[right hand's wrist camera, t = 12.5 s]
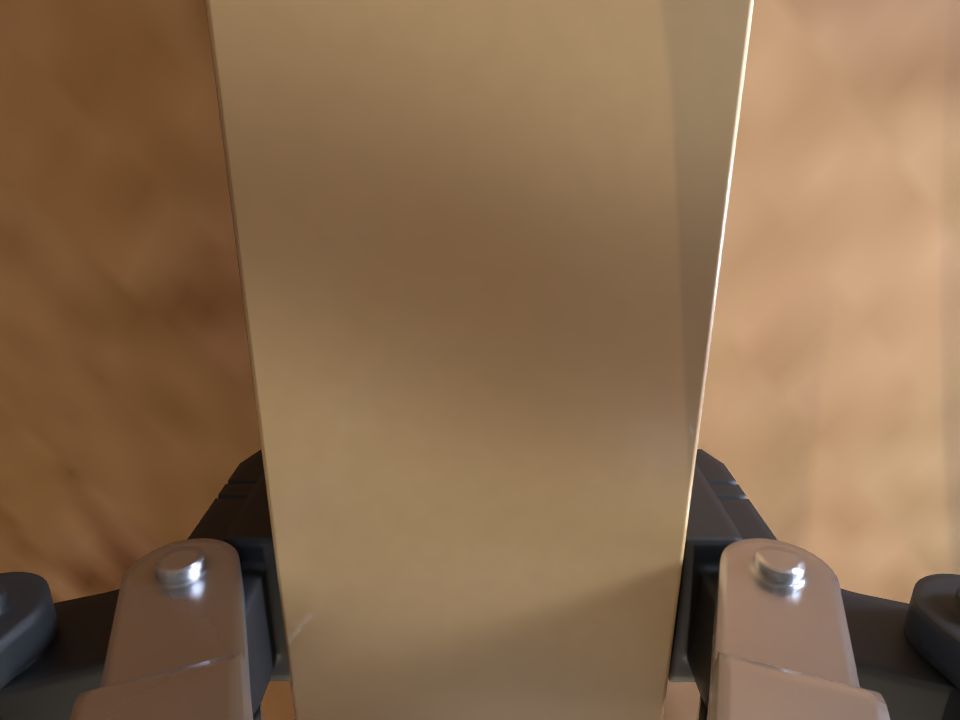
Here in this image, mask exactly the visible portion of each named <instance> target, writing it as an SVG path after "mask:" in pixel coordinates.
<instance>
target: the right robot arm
mask: <svg viewBox="0 0 960 720" xmlns="http://www.w3.org/2000/svg"><path fill="white" fill-rule="evenodd" d="M668 678H669V681H670V682H696V684H697V686H698V689H699V692H700V694H701V695H700V702H699V708H698V715H697V720H960V575H955V574H935V575H930V576H926V577H924V578H922V579H920V580H919V581H918V582H917V583H916V584H915V587H914V589H913V593H912V597H911V601H910V604H907V603H902V602H897V601H892V600H887V599H882V598H878V597H873V596H868V595H863V594H859V593H854V592H850V591H847V590H844V589H841V588H840V585H839V582H838V579H837V576H836V575H835V573H834V572H833V570H832V569H831V568H830V567H829V566H828V565H827V564H826V563H825V562H823V561H822V560H821V559H820V558H818V557H817V556H815V555H814V554H812V553H810V552H808V551H806V550H804V549H802V548H800V547H797V546H795V545H792V544H789V543H786V542H781V541H778V540H777V539H776V538H775V536H774V535H773V533H772V532H771V531H770V529H769V528H768V526H767V525H766V523H765V522H764V521H763V519H762V518H761V516H760V515H759V513H758V512H757V511H756V509H755V508H754V506H753V505H752V503H751V502H750V501H749V499H746V495H745V494H744V492H743V491H742V489H741V488H740V486H739V485H736V481H735V479H734V478H733V476H732V475H731V474H730V472H729V471H728V469H727V468H726V467H725V465H724V464H723V463H721V462H720V461H718V460H717V459H715V458H714V457H712V456H711V455H709V454H708V453H706V452H705V451H703V450H702V449H697V454H696V462H695V470H694V477H693V485H692V493H691V501H690V509H689V517H688V525H687V533H686V541H685V548H684V556H683V564H682V572H681V580H680V588H679V596H678V604H677V611H676V619H675V627H674V635H673V643H672V651H671V659H670V667H669V674H668ZM269 681H290V674H289V666H288V658H287V650H286V642H285V634H284V626H283V618H282V610H281V602H280V594H279V586H278V578H277V570H276V562H275V554H274V546H273V538H272V530H271V522H270V514H269V506H268V498H267V490H266V482H265V474H264V466H263V458H262V450H260V451H258V452H257V453H255V454H254V455H252V456H251V457H249V458H248V459H246V460H245V461H243V462H242V463H240V464H239V466H238V467H237V469H236V470H235V472H234V473H233V475H232V476H231V477H230V479H229V480H228V484H226V485H225V486H224V488H223V489H222V490H221V492H220V493H219V497H218V498H216V499H215V501H214V502H213V503H212V505H211V506H210V508H209V509H208V511H207V512H206V514H205V515H204V516H203V518H202V519H201V521H200V522H199V524H198V525H197V526H196V528H195V529H194V531H193V532H192V534H191V535H190V537H189V538H188V539H187V540H183V541H179V542H174V543H171V544H168V545H165V546H163V547H160V548H158V549H156V550H154V551H152V552H150V553H148V554H146V555H145V556H143V557H142V558H140V559H139V560H138V561H137V562H135V563H134V564H133V565H132V566H131V567H130V568H129V569H128V570H127V572H126V573H125V575H124V576H123V579H122V582H121V585H120V589H118V590H115V591H111V592H106V593H102V594H97V595H92V596H87V597H82V598H77V599H73V600H68V601H63V602H58V603H53V600H52V596H51V593H50V589H49V586H48V583H47V581H46V580H45V579H44V578H42V577H41V576H39V575H36V574H32V573H27V572H9V573H0V720H263V715H262V708H261V701H262V699H263V696H264V693H265V691H266V688H267V685H268V683H269Z"/></svg>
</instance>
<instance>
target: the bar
mask: <svg viewBox="0 0 960 720" xmlns="http://www.w3.org/2000/svg"><path fill="white" fill-rule="evenodd" d="M205 2H206V10H207V18H208V26H209V34H210V42H211V50H212V58H213V66H214V74H215V82H216V90H217V98H218V106H219V114H220V122H221V130H222V138H223V146H224V154H225V162H226V170H227V178H228V186H229V194H230V202H231V210H232V218H233V226H234V234H235V242H236V250H237V258H238V266H239V274H240V282H241V290H242V298H243V306H244V314H245V322H246V330H247V338H248V346H249V354H250V362H251V370H252V378H253V386H254V394H255V402H256V410H257V418H258V426H259V434H260V442H261V450H262V458H263V466H264V474H265V482H266V490H267V498H268V506H269V514H270V522H271V530H272V538H273V546H274V554H275V562H276V570H277V578H278V586H279V594H280V602H281V610H282V618H283V626H284V634H285V642H286V650H287V658H288V666H289V674H290V682H291V690H292V698H293V706H294V714H295V720H663V714H664V706H665V698H666V690H667V682H668V674H669V667H670V659H671V651H672V643H673V635H674V627H675V619H676V611H677V604H678V596H679V588H680V580H681V572H682V564H683V556H684V548H685V541H686V533H687V525H688V517H689V509H690V501H691V493H692V485H693V477H694V470H695V462H696V454H697V446H698V438H699V430H700V422H701V414H702V407H703V399H704V391H705V383H706V375H707V367H708V359H709V351H710V344H711V336H712V328H713V320H714V312H715V304H716V296H717V288H718V280H719V273H720V265H721V257H722V249H723V241H724V233H725V225H726V217H727V210H728V202H729V194H730V186H731V178H732V170H733V162H734V154H735V147H736V139H737V131H738V123H739V115H740V107H741V99H742V91H743V83H744V76H745V68H746V60H747V52H748V44H749V36H750V28H751V20H752V13H753V5H754V0H205Z"/></svg>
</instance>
